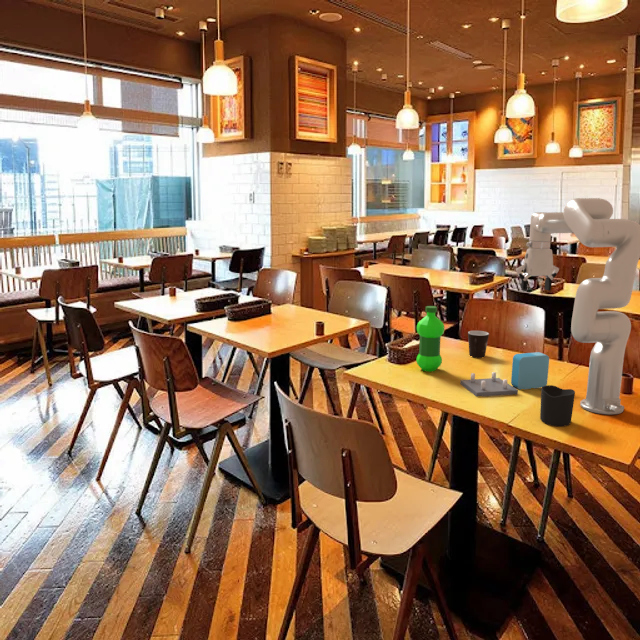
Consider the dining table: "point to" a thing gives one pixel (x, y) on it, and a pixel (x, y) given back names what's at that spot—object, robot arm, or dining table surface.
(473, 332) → the coffee mug
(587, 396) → the robot arm
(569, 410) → the pen holder
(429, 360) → the plastic bottle
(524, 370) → the blue rounded block
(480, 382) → the pin tray
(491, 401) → the dining table surface
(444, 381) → the dining table surface
